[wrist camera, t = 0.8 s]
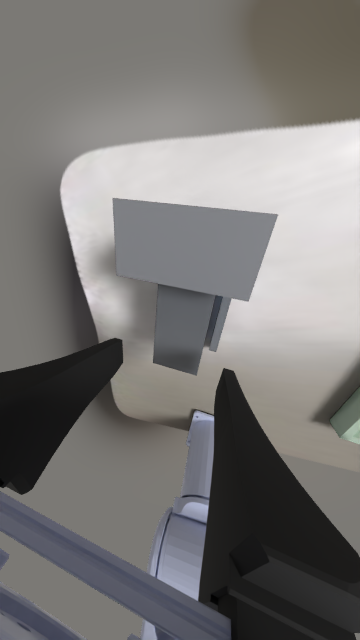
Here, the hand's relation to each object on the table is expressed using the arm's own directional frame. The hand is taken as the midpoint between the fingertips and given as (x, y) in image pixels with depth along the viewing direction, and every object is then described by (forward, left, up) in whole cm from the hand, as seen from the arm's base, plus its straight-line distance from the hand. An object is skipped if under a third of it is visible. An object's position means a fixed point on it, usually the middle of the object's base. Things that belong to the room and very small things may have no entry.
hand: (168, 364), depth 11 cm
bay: (+3, 0, -9) cm, 9 cm away
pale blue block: (+3, 0, -9) cm, 9 cm away
